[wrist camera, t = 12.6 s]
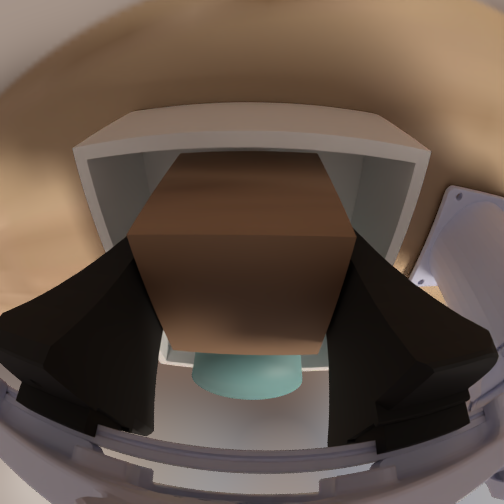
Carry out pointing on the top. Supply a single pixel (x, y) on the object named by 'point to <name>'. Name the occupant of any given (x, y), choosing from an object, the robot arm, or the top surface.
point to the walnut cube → (244, 252)
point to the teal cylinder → (247, 374)
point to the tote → (256, 139)
